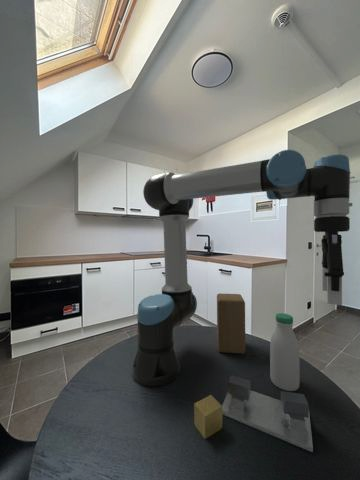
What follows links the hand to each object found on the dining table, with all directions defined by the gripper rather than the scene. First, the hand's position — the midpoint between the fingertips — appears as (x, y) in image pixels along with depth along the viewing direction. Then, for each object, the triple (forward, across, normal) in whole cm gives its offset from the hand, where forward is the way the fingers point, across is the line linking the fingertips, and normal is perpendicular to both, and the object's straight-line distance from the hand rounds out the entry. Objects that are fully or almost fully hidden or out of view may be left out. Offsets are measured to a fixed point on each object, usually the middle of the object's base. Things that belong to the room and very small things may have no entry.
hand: (330, 296), depth 54 cm
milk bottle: (+28, 0, +11) cm, 30 cm away
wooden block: (+28, +12, +31) cm, 43 cm away
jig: (+27, -14, +14) cm, 34 cm away
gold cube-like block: (+27, -24, +25) cm, 44 cm away
